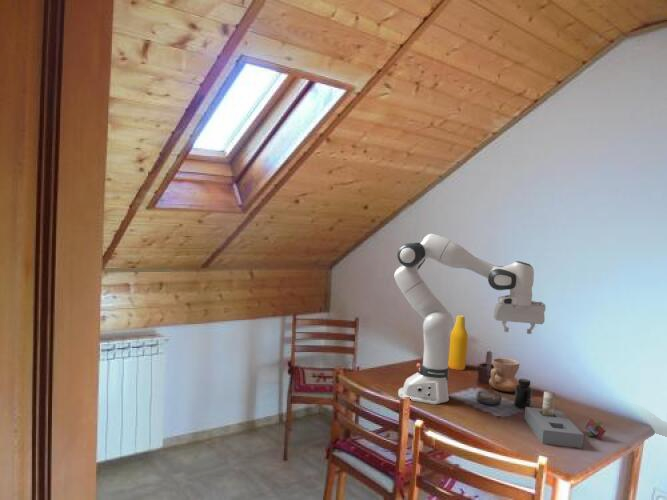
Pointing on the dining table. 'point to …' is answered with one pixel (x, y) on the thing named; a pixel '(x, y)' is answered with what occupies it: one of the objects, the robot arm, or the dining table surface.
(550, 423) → the socket block
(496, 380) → the ceramic jug
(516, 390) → the supplement bottle
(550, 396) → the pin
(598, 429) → the geometric puzzle
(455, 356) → the beer bottle
